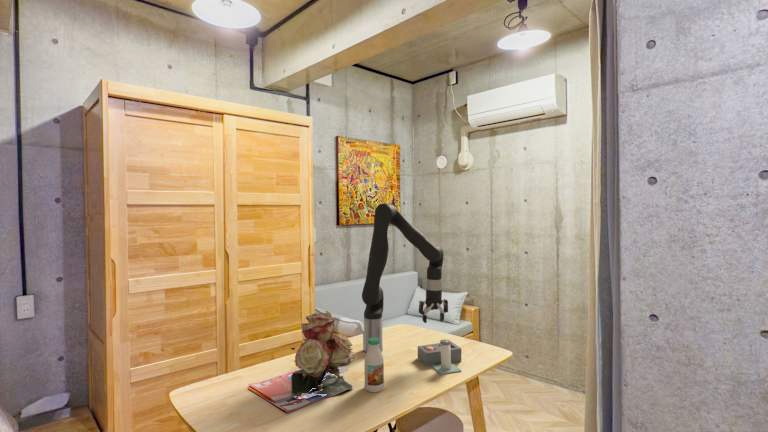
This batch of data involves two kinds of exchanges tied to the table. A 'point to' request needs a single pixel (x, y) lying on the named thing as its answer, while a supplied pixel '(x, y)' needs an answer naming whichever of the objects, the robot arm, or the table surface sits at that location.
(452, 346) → the housing
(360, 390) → the table surface
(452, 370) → the mat
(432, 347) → the orange egg
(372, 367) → the milk bottle
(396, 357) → the table surface
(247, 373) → the table surface
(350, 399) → the table surface
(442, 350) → the cartridge
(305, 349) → the rose bouquet
